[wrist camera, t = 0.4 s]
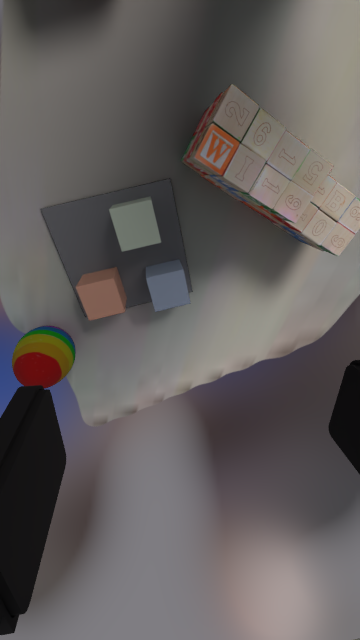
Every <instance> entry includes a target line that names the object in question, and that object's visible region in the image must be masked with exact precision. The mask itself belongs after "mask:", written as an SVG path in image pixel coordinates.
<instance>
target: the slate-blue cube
mask: <svg viewBox="0 0 360 640" xmlns="http://www.w3.org/2000/svg"><path fill="white" fill-rule="evenodd" d="M146 280H147V284H148V287H149V291H150V294H151V298H152V302H153V305H154V309H155V312H157V311H161V310H165V309H169V308H173V307H178V306H182V305H186V304H190V298H189V294H188V289H187V284H186V279H185V274H184V270H183V267H182V265H181V262H180V260H179V259H177V260H173V261H169V262H165V263H160V264H156V265H152V266H148V267H146Z"/></svg>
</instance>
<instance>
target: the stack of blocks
mask: <svg viewBox="0 0 360 640" xmlns="http://www.w3.org/2000/svg"><path fill="white" fill-rule="evenodd" d="M181 162H182V163H184V164H185V165H187V166H188V167H190V168H191V169H193V170H194V171H196V172H197V173H199V174H200V175H201V176H202V177H203V178H205V179H206V180H208V181H209V182H211V183H212V184H214V185H215V186H217V187H219V188H220V189H221V190H223V191H224V192H226V193H227V194H229V195H230V196H232V197H233V198H235V199H237V200H239V201H241V202H242V203H244V204H245V205H247V206H248V207H250V208H251V209H253V210H255V211H257V212H258V213H260V214H261V215H263V216H264V217H266V218H267V219H269V220H270V221H271V222H272V223H273V224H274V225H276V226H277V227H279V228H280V229H282V230H283V231H285V232H287V233H289V234H290V235H292V236H293V237H295V238H296V239H298V240H299V241H301V242H303V243H306V244H308V245H310V246H312V247H314V248H317V249H319V250H321V251H326V252H329V253H331V254H333V255H336V256H339V255H340V254H341V252H342V251H343V250H344V249H345V247H346V246H347V245H348V243H349V242H350V241H351V240H352V238H353V237H354V236H355V233H356V232H357V231H358V230H359V229H360V200H359V199H358V198H356V197H355V195H354V194H352V193H351V192H350V191H348V190H347V189H346V188H345V187H343V186H342V185H341V184H339V183H338V182H337V181H336V180H335V179H333V178H332V177H331V176H329V175H328V174H329V173H330V171H331V170H332V168H333V165H332V164H331V163H329V162H328V161H327V160H325V159H324V158H323V157H322V156H320V155H319V154H318V153H317V152H315V151H314V150H313V149H310V148H308V147H307V146H306V145H305V144H304V143H302V142H301V141H300V140H298V139H297V138H296V137H295V136H293V135H292V134H291V133H290V132H288V131H286V128H285V127H284V126H283V125H282V124H281V123H279V122H278V121H277V120H275V119H274V118H273V117H272V116H271V115H269V114H268V113H267V112H266V111H264V110H263V109H261V108H259V105H258V104H257V103H255V102H254V101H253V100H252V99H251V98H249V97H248V96H247V95H246V94H245V93H243V92H242V91H241V90H240V89H239V88H237V87H236V86H235V85H233V84H232V85H230V86H229V88H228V89H227V90H226V91H225V92H224V93H221V94H220V95H219V96H218V97H217V98H216V99H215V101H214V102H213V103H212V105H211V106H209V108H208V109H207V110H206V111H205V112H204V114H203V116H202V118H201V120H200V122H199V124H198V126H197V128H196V130H195V132H194V134H193V137H192V139H191V141H190V143H189V145H188V147H187V149H186V151H185V153H184V155H183V157H182V159H181Z"/></svg>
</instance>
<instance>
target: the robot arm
mask: <svg viewBox="0 0 360 640" xmlns="http://www.w3.org/2000/svg"><path fill="white" fill-rule="evenodd" d="M329 433H330V435H331V437H332V438H333V440H334V441H335V442H336V444H337V445H338V446H339V448H340V449H341V450H342V451H343V453H344V454H345V455H346V457H347V458H348V459H349V461H350V462H351V463H352V465H353V466H354V467H355V469H356V470H357V471H358V473H359V474H360V360H355V361H352V362H351V363H350V365H349V366H347V367H346V370H345V373H344V376H343V380H342V383H341V386H340V390H339V393H338V396H337V400H336V403H335V406H334V410H333V413H332V416H331V420H330V423H329ZM65 465H66V453H65V448H64V444H63V440H62V436H61V432H60V428H59V424H58V420H57V416H56V412H55V408H54V404H53V400H52V396H51V393H50V390H44V387H43V386H42V385H35V386H22V387H19V388H18V389H17V391H16V393H15V394H14V396H13V398H12V399H11V401H10V403H9V404H8V406H7V408H6V410H5V411H4V413H3V415H2V416H1V418H0V635H5V634H11V633H14V631H15V628H16V624H17V621H18V617H19V615H20V614H24V613H25V612H26V611H27V609H28V607H29V604H30V601H31V597H32V593H33V589H34V585H35V581H36V577H37V574H38V570H39V566H40V562H41V558H42V554H43V551H44V547H45V543H46V539H47V535H48V531H49V527H50V524H51V519H52V516H53V512H54V508H55V504H56V500H57V497H58V493H59V489H60V485H61V481H62V477H63V474H64V470H65ZM355 640H360V639H355Z"/></svg>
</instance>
